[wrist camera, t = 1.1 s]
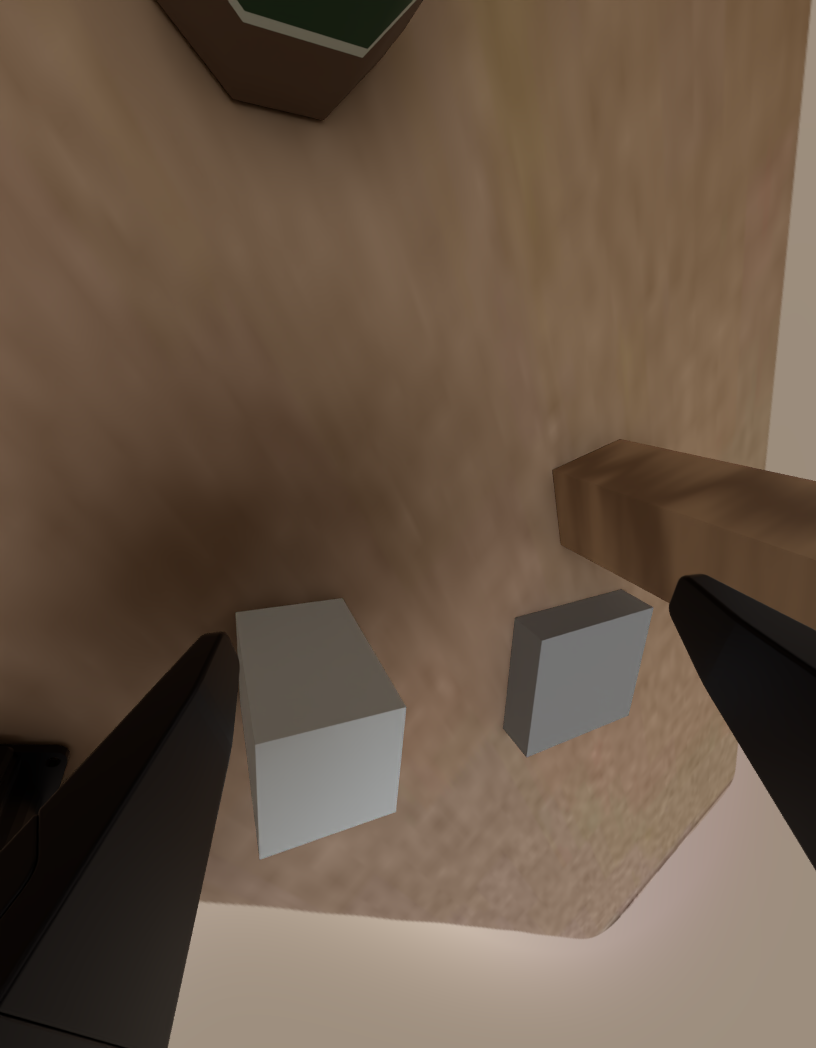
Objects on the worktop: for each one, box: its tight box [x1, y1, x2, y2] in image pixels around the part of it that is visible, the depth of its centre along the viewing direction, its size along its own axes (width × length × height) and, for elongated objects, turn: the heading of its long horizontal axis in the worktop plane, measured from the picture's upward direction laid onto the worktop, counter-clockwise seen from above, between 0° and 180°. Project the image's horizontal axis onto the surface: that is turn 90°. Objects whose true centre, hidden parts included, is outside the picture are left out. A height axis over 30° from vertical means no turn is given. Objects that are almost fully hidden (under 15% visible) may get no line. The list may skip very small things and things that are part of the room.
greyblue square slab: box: [503, 589, 653, 757], centre depth 30 cm, size 9×9×3 cm
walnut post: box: [553, 439, 816, 630], centre depth 20 cm, size 5×5×15 cm
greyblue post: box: [236, 598, 406, 859], centre depth 19 cm, size 5×5×8 cm
